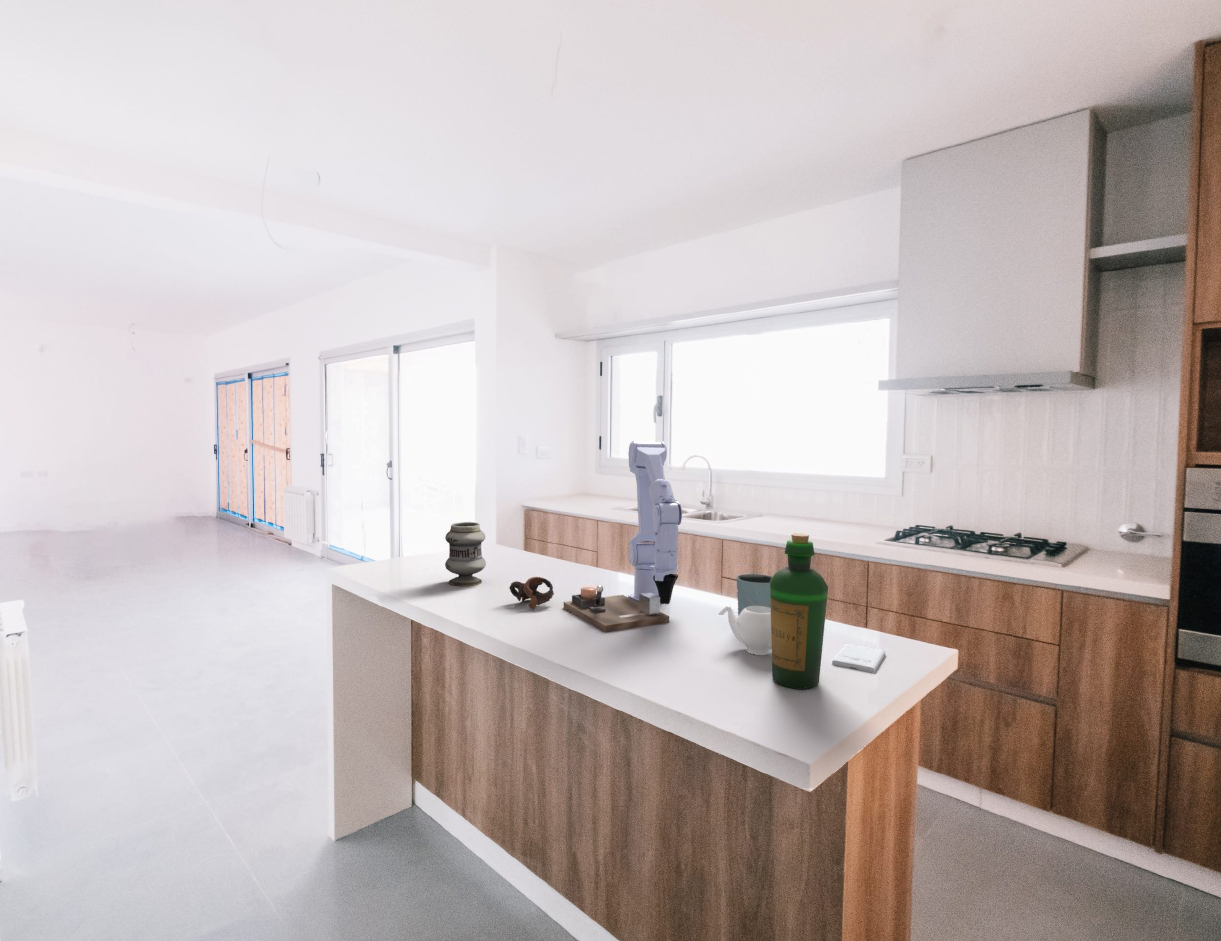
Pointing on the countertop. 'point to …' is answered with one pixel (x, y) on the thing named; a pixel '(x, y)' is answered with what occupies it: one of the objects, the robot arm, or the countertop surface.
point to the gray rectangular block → (649, 603)
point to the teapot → (752, 628)
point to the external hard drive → (859, 657)
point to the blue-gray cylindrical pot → (753, 591)
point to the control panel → (613, 613)
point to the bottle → (797, 617)
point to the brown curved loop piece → (532, 591)
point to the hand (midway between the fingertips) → (665, 603)
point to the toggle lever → (598, 596)
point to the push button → (588, 593)
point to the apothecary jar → (465, 553)
